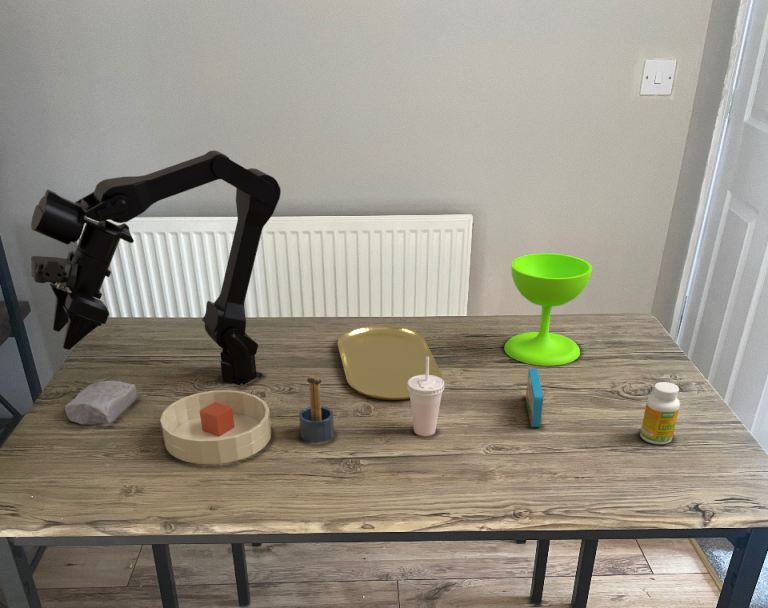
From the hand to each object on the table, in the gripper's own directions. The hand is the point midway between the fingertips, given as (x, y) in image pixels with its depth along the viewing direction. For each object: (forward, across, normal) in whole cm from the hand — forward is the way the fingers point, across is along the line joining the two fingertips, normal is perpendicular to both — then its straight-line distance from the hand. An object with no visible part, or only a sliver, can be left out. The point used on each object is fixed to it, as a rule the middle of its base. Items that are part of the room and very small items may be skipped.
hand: (60, 339), depth 139 cm
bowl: (+2, +21, +24) cm, 32 cm away
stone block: (+11, -1, +12) cm, 16 cm away
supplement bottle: (-33, +57, +81) cm, 105 cm away
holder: (-6, +28, +38) cm, 47 cm away
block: (+1, +18, +25) cm, 31 cm away
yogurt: (-26, +39, +70) cm, 85 cm away
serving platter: (-19, +8, +59) cm, 62 cm away
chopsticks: (-6, +28, +37) cm, 47 cm away
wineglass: (-37, +18, +86) cm, 95 cm away
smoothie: (-15, +36, +52) cm, 65 cm away
